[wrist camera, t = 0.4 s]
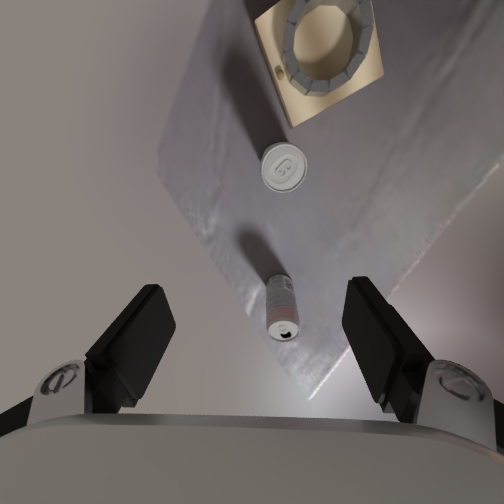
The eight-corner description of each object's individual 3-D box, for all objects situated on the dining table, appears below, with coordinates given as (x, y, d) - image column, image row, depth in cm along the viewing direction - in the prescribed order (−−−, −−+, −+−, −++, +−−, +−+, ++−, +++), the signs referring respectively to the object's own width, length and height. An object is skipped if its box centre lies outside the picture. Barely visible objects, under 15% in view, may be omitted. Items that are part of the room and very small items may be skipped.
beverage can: (255, 160, 31) (249, 169, 20) (279, 134, 29) (286, 129, 18) (276, 183, 32) (282, 203, 22) (300, 159, 30) (318, 169, 20)
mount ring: (350, -33, 19) (360, -55, 17) (370, 69, 23) (381, 61, 21) (270, 27, 22) (270, 14, 20) (298, 111, 25) (302, 108, 23)
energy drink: (272, 297, 44) (274, 346, 33) (262, 278, 41) (260, 324, 31) (296, 289, 42) (305, 338, 32) (287, 270, 40) (294, 315, 29)
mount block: (348, -37, 21) (363, -68, 18) (371, 82, 26) (386, 73, 22) (255, 33, 24) (254, 17, 21) (290, 128, 29) (293, 127, 25)
